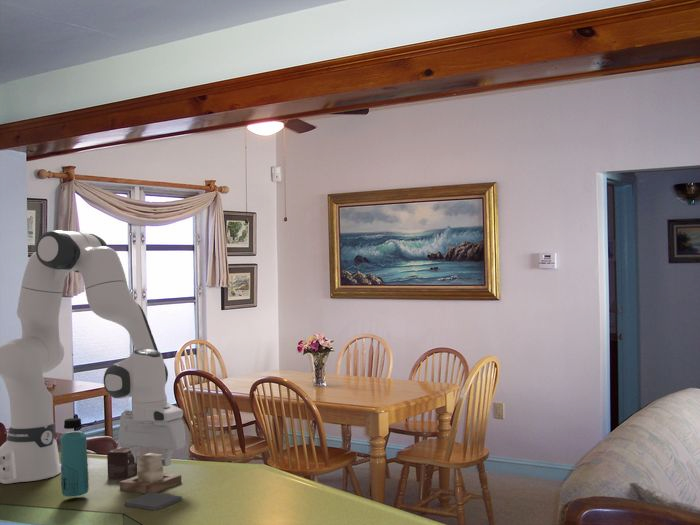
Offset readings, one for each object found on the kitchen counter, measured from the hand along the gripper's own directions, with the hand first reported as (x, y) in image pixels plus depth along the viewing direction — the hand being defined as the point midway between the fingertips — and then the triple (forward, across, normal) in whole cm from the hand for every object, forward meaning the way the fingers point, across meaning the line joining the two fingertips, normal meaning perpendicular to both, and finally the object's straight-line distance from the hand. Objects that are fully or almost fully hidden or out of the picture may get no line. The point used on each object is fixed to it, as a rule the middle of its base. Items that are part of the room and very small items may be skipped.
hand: (152, 464), depth 197 cm
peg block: (+6, 0, 0) cm, 6 cm away
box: (+6, -16, +5) cm, 17 cm away
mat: (+6, +10, -12) cm, 17 cm away
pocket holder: (+6, 0, 0) cm, 6 cm away
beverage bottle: (+6, -11, -16) cm, 20 cm away
